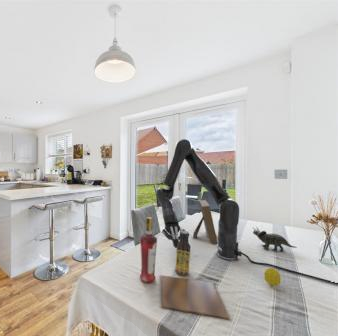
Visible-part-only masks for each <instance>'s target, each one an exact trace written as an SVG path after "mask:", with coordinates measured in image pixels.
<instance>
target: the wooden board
mask: <svg viewBox="0 0 338 336" xmlns="http://www.w3.org/2000/svg"><path fill="white" fill-rule="evenodd" d="M160 281H161V283H160V284H161V306H162V307H161V308H162V309H166V310H167V309H168V310H173V311H177V312H178V311H179V312H184V313H190V314H196V315H201V316H206V317H207V316H208V317H212V318H218V319H223V320H224V319H225V320H230V315H229V314H228V312H227V310H226V307H225V306H224V303H223V301H222V300H221V297H220V295H219V292H218V291H217V289H216V286H215V284H214V282H210V281H202V280H196V279H190V278H182V277H174V276H168V275H160Z"/></svg>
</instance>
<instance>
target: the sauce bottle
mask: <svg viewBox="0 0 338 336" xmlns="http://www.w3.org/2000/svg"><path fill="white" fill-rule="evenodd" d="M179 236H180V240H179V242H178V244H177V248H176V249H175V251H176V252H175V266H174V269H175V273H176V274H178V275H180V276H187V275H188V274H189V272H190V261H191V245H190V243H189V237H190V232H189V231H187V230H185V231H180V230H179Z"/></svg>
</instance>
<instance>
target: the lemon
mask: <svg viewBox="0 0 338 336" xmlns="http://www.w3.org/2000/svg"><path fill="white" fill-rule="evenodd" d="M263 273H264V274H263V278H264V280H265V282H266V283H267V284H268V285H270V287H277V286H279V285H280V284H281V280H282V279H281V274H280V272H279V271H278V270H277V269H275V267H268V268H266V269H265V271H264V272H263Z"/></svg>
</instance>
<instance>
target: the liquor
mask: <svg viewBox="0 0 338 336" xmlns="http://www.w3.org/2000/svg"><path fill="white" fill-rule="evenodd" d="M145 224H146V225H145V234H142V235H141V236H140V238H139V239H140V240H139V241H140V275H139V278H140V279H141V280H142V281H143V282H144V283H147V284H149V283H152V282H154V281H156V275H155V274H156V257H157V247H158V246H157V245H158V238H157V237H156V236H155V235H154V234H153V229H152V228H153V227H152V224H153V217H150V216H146V217H145Z"/></svg>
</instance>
